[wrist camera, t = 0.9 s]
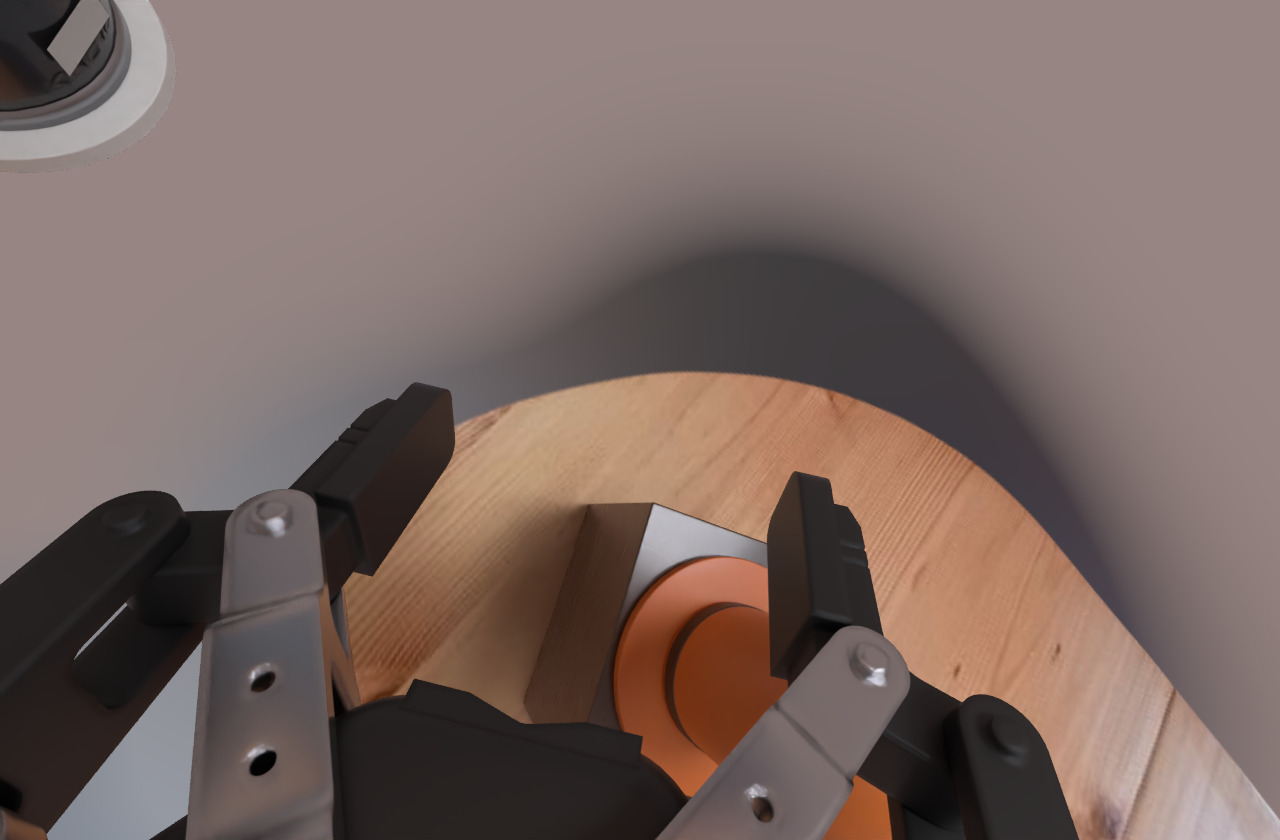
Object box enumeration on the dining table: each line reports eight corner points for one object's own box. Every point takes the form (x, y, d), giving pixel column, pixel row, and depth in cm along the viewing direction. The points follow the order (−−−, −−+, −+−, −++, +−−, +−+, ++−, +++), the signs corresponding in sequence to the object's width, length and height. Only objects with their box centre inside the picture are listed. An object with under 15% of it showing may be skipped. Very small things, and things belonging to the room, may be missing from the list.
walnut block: (523, 703, 28) (564, 799, 19) (588, 503, 31) (652, 501, 22) (680, 738, 31) (784, 838, 21) (727, 551, 34) (837, 568, 24)
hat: (581, 769, 19) (706, 1000, 10) (652, 527, 22) (804, 541, 13) (783, 809, 22) (1027, 1022, 13) (827, 588, 24) (1058, 636, 15)
